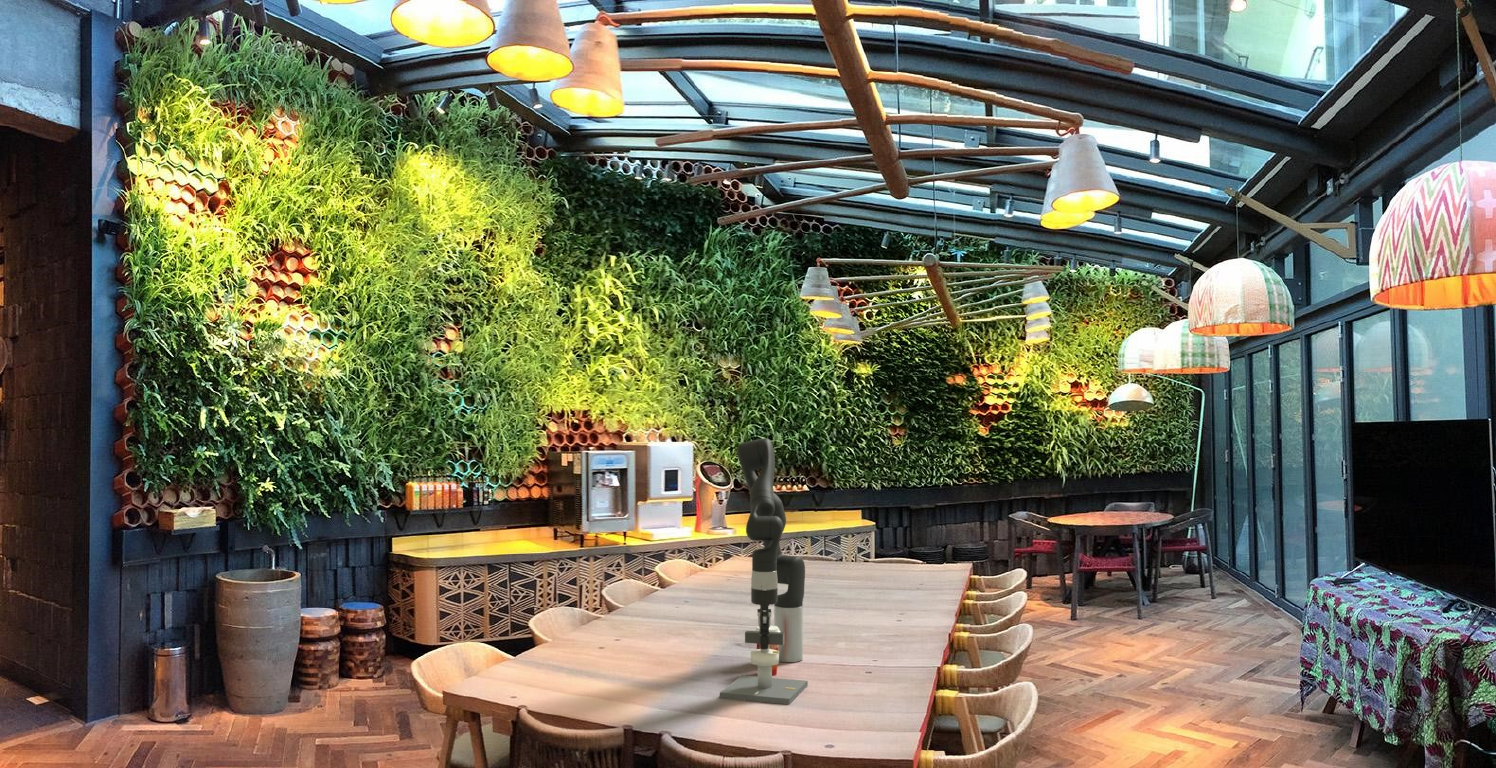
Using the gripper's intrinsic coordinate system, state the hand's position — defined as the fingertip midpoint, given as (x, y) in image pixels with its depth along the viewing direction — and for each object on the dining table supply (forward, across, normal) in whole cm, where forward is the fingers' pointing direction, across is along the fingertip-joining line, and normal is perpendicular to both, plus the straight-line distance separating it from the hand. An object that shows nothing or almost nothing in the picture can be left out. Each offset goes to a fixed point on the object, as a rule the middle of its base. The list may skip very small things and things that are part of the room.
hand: (764, 647), depth 281 cm
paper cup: (+13, -21, +2) cm, 24 cm away
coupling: (+4, 0, 0) cm, 4 cm away
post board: (+13, 0, 0) cm, 13 cm away
